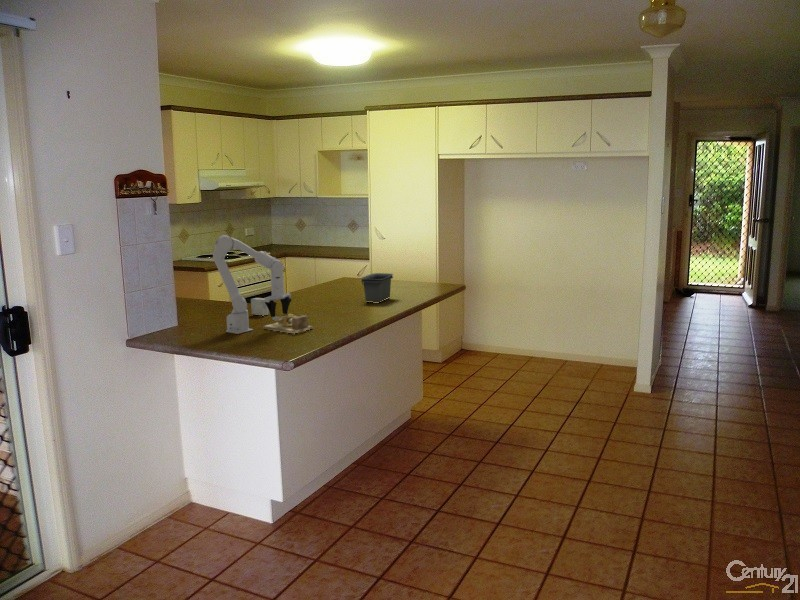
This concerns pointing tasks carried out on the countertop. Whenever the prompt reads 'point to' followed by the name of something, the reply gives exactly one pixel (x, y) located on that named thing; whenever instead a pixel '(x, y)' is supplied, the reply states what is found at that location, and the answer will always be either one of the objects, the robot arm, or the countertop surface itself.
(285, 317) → the wing nut
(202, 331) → the countertop surface
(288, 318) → the threaded rod
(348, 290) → the countertop surface
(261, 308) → the medicine box
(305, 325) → the beige blocky piece
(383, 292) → the storage bin
